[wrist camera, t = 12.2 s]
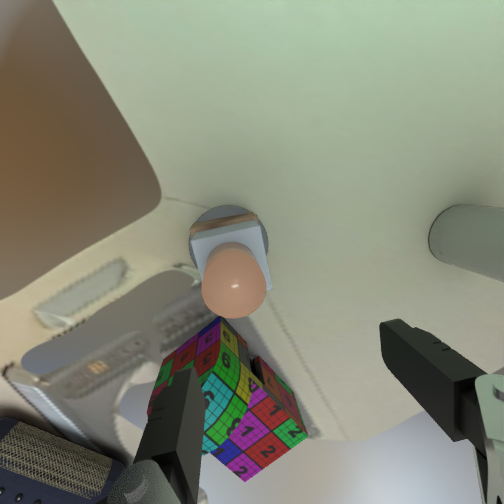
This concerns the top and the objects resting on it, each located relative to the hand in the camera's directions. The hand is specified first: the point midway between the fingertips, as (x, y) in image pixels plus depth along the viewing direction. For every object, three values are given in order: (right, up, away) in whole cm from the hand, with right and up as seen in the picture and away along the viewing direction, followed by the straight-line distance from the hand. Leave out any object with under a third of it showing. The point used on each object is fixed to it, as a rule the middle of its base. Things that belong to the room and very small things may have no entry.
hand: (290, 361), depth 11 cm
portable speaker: (-33, -27, +32) cm, 53 cm away
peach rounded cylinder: (-4, +3, +16) cm, 16 cm away
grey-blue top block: (-4, +4, +20) cm, 21 cm away
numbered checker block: (-5, -20, +33) cm, 39 cm away
